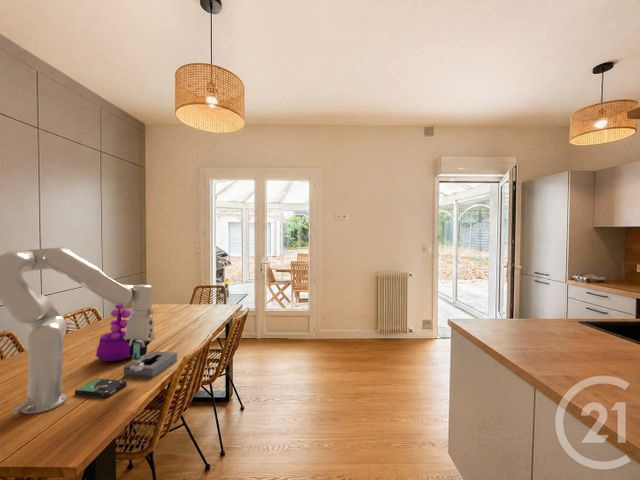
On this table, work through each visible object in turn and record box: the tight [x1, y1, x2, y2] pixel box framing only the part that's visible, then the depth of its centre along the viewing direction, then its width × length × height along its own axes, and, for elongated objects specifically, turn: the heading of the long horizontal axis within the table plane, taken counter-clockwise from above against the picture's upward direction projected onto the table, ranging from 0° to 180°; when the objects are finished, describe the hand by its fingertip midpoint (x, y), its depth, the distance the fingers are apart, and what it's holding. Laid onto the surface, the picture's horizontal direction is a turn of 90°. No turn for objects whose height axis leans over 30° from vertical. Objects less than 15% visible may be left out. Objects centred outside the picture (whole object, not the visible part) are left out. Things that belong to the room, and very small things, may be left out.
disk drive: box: [74, 378, 127, 399], centre depth 121 cm, size 10×3×15 cm
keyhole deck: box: [123, 350, 178, 379], centre depth 143 cm, size 20×14×4 cm
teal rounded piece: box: [130, 340, 144, 372], centre depth 126 cm, size 5×5×12 cm
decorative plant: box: [95, 304, 139, 362], centre depth 154 cm, size 19×18×30 cm
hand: (138, 354), depth 126 cm, fingers closed on teal rounded piece, 4 cm apart
